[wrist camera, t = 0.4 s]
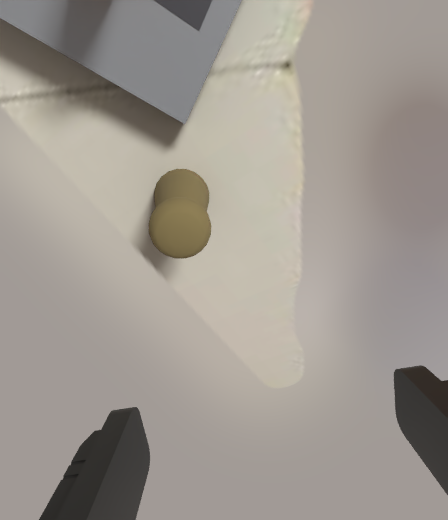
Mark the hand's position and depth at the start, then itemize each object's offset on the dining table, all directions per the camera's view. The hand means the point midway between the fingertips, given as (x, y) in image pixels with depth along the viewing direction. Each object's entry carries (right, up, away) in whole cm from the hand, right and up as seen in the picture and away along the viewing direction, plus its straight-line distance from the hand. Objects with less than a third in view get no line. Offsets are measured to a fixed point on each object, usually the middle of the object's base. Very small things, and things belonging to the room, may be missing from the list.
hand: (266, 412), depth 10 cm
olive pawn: (-6, +12, +25) cm, 28 cm away
